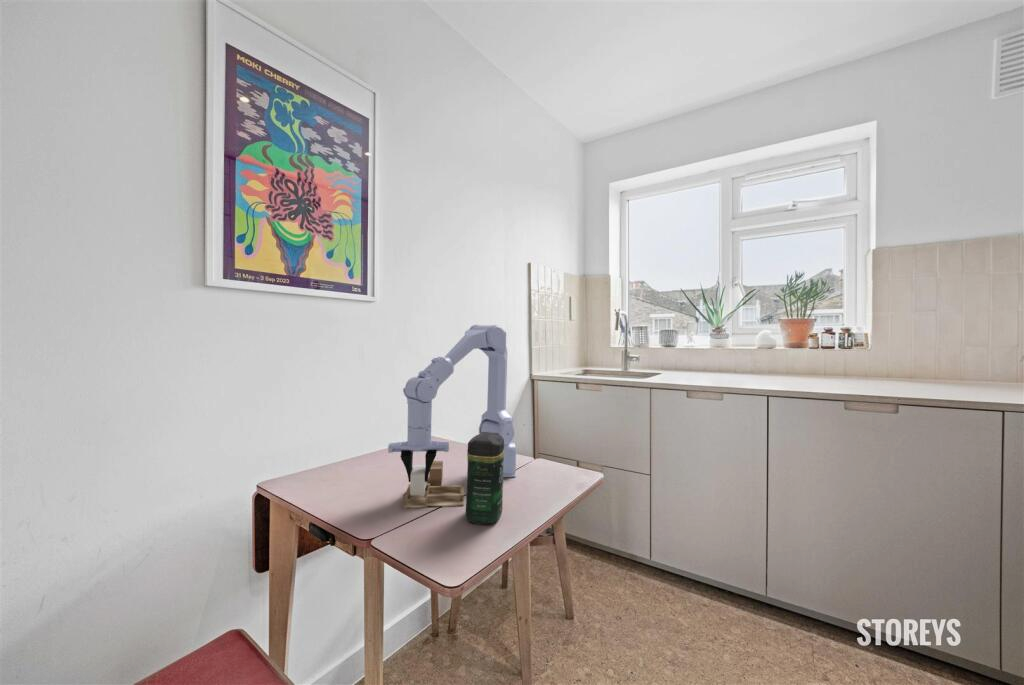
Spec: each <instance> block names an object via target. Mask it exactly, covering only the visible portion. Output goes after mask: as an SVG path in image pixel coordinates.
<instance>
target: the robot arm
mask: <svg viewBox="0 0 1024 685" xmlns="http://www.w3.org/2000/svg"><path fill="white" fill-rule="evenodd" d="M475 349H478V350H480V351H482V352H483V353H484V354H485V355H486V356H487V357H488V365H487V366H488V373H487V402H486V404H487V405H486V406H487V407H486V411H484V413H482V415H481V419H480V420H481V421H480V424H479V426H478V434H481V433H482V432H492V433H499V435H500V436H502V437H503V438H504V463H503V478H515V477H516V476H517V475H516V468H517V463H516V461H517V459H516V458H517V455H516V454H517V450H516V443H514V442H513V439H514V437H515V428H514V424H513V417H512V416H511V415H510V414H509V413H508V411H507V404H506V403H507V384H508V383H507V379H508V378H507V377H508V376H507V375H508V347H507V332H506V331H505V330H504V329H503V328H502V326H500V325H498V324H490V325H488V324H486V325H483V324H480V325H479V324H473V325H471V326H470V327H469V328H468V329H467V330H465V332H464V335H463V336H462V337H461V338H460V340H458V341H457V343H456V344H455V345H454V346H453V347H452V348H451V349H450V350H449V351H448V353H446V355H445V356H437V357H433V358H432V359H431V361H430V362H431V363H429V364H428V366H427V367H425V368H424V369H423V370H420V371H419V372H418V375H417V376H413V377H411V378H409V379H408V380H407V381H406V384H405V386H404V387H403V388H402V391H403V395H404V396H405V397H406V401H407V403H406V404H407V437H406V438H407V441H399V442H389V444H388V446H387V452H388V453H391V454H393V453H394V452H395V453H400V460H401V461H402V463H403V465H404V467H405V470H406V474H407V478H408V483H410V475H411V472H412V469H413V461H414V460H413V456H414V452H415V453H417V452H418V453H419V452H426V453H425V456H424V457H425V465H426V470H425V482H426V483H429V482H428V481H429V471H430V468H431V466H432V463H433V461H435V459H436V456H437V452H444V453H448V452H450V442H448V441H434V440H432V415H433V414H432V407H433V406H432V404H433V403H432V402H433V401H432V400H434V399H435V398H436V397H437V393H438V391H439V388H440V386H441V385H443V383H445V381H447V380H448V379H449V378H450V377H451V375H452V374H454V371H455V370H454V368H455V366H456V365H457V364H458V363H459V362H460V361H461V360H463V359H464V358H465V357H466V356H468V354H470V353H471V352H472V351H473V350H475Z"/></svg>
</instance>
